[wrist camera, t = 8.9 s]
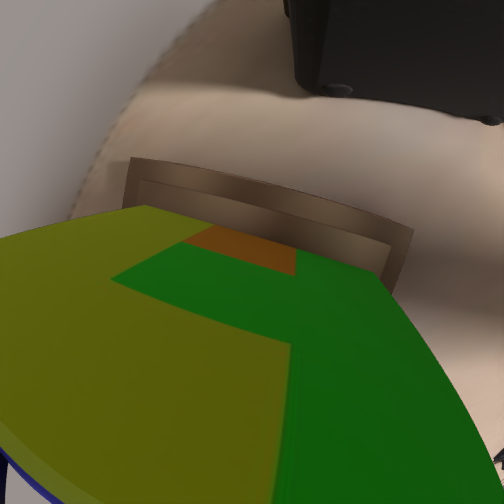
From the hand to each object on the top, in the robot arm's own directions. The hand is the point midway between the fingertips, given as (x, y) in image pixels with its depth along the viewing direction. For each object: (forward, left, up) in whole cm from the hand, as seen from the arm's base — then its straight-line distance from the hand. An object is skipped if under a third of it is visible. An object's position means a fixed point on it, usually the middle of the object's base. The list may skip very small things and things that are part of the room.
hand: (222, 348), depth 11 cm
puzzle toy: (0, 0, -1) cm, 1 cm away
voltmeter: (-6, -18, -6) cm, 20 cm away
